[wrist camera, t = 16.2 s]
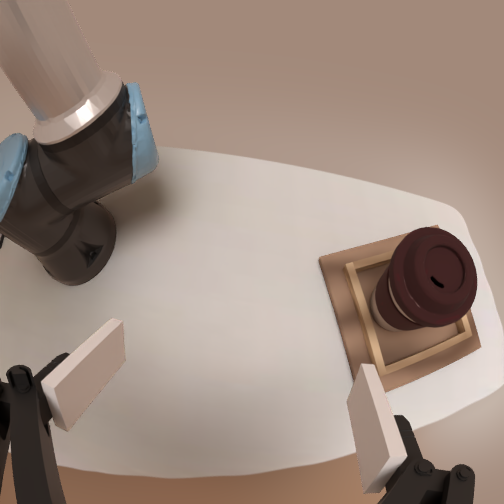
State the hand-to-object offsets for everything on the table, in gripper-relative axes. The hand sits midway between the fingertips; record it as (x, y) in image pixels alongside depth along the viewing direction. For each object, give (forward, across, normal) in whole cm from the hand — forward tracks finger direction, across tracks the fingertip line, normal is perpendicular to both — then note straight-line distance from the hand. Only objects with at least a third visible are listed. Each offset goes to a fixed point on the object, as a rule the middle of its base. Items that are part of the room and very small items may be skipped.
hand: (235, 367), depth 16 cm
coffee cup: (+24, +18, -4) cm, 30 cm away
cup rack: (+25, +20, -5) cm, 32 cm away
